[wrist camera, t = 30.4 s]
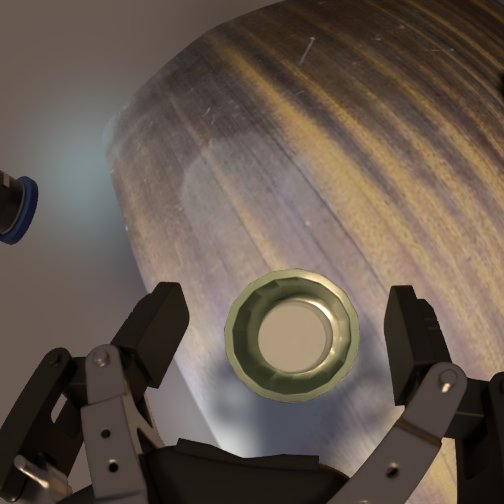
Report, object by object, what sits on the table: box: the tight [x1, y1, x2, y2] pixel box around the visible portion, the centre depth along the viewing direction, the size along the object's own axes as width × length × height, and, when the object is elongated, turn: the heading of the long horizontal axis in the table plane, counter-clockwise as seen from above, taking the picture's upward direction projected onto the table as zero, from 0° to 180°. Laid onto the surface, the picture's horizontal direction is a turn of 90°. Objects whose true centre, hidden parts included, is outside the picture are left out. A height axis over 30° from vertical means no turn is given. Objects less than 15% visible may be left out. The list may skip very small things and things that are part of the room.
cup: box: [224, 268, 360, 403], centre depth 18 cm, size 7×7×8 cm
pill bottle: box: [258, 300, 333, 374], centre depth 18 cm, size 4×4×8 cm
